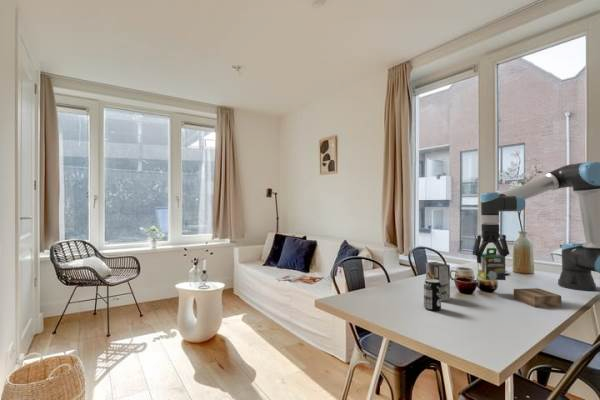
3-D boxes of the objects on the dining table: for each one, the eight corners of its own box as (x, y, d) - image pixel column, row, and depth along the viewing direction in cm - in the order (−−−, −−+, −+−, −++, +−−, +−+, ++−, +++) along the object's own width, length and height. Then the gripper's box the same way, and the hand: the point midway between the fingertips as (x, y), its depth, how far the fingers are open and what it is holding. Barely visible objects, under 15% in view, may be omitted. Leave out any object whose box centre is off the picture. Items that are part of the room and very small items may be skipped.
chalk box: (496, 275, 158) (495, 246, 158) (506, 280, 149) (506, 249, 149) (477, 275, 159) (476, 246, 159) (486, 280, 150) (485, 249, 150)
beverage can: (440, 307, 134) (440, 279, 134) (441, 312, 128) (441, 282, 128) (423, 305, 136) (423, 277, 136) (424, 310, 130) (424, 281, 130)
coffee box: (450, 300, 144) (450, 265, 144) (439, 301, 142) (439, 265, 142) (436, 294, 152) (436, 261, 152) (425, 295, 150) (425, 262, 150)
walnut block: (538, 299, 147) (537, 288, 147) (561, 307, 135) (561, 295, 135) (513, 299, 146) (513, 288, 146) (535, 308, 134) (534, 296, 134)
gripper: (507, 222, 158) (508, 267, 158) (463, 223, 158) (464, 268, 158) (517, 223, 151) (519, 270, 151) (472, 224, 151) (473, 271, 150)
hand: (491, 269), depth 154 cm, fingers closed on chalk box, 9 cm apart
